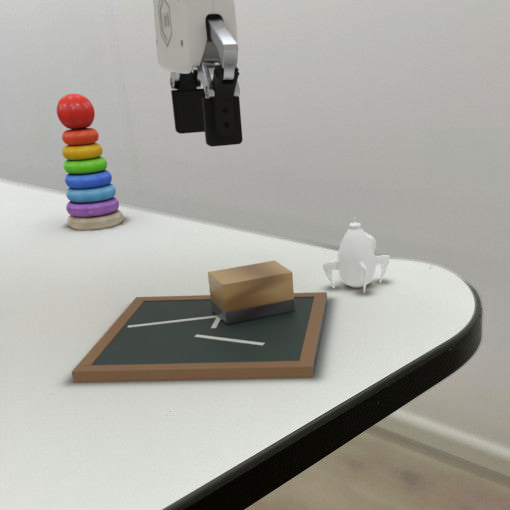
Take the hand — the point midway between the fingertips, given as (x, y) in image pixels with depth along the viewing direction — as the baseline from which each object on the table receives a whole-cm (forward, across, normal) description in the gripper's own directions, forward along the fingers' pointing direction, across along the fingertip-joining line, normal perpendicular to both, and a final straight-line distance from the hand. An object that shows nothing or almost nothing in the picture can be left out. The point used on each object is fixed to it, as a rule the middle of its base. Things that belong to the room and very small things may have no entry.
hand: (207, 138), depth 72 cm
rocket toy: (+17, +1, +15) cm, 23 cm away
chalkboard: (+17, +7, -3) cm, 19 cm away
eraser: (+16, +4, +2) cm, 17 cm away
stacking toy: (+18, -47, -4) cm, 50 cm away
